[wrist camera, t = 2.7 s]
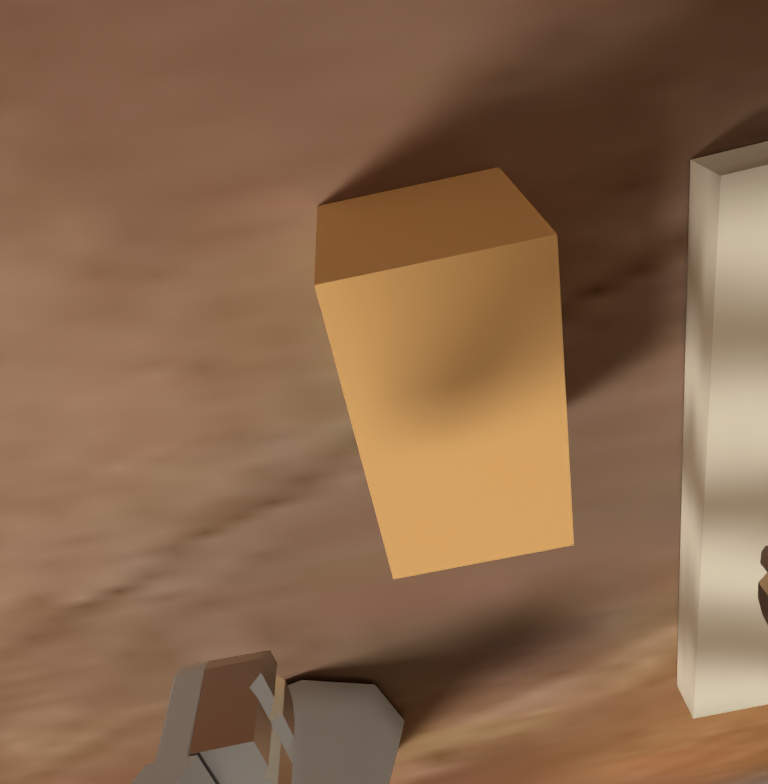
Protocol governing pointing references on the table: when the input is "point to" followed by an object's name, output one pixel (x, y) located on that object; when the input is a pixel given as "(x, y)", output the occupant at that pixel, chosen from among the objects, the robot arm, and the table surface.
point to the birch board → (725, 436)
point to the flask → (342, 733)
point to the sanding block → (451, 367)
